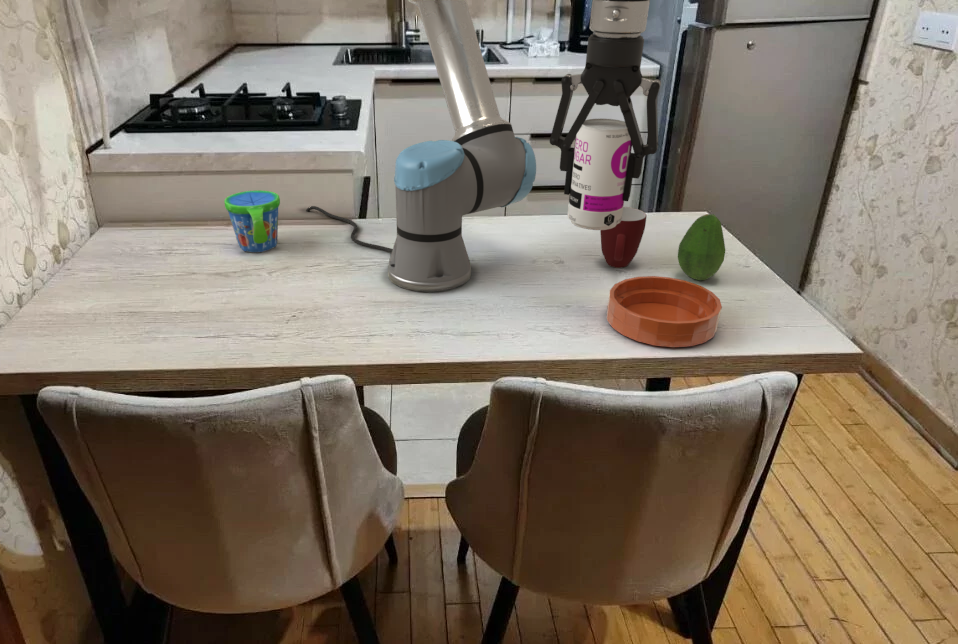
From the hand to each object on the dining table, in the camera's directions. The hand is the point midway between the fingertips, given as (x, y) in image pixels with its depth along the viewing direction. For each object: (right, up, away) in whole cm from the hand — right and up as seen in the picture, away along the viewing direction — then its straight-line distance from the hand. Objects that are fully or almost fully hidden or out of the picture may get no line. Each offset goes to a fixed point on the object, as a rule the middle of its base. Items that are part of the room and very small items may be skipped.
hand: (596, 195), depth 111 cm
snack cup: (-60, -3, +35) cm, 70 cm away
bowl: (+12, -19, +6) cm, 23 cm away
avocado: (+23, -11, +22) cm, 33 cm away
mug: (+10, -8, +26) cm, 29 cm away
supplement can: (0, -4, +2) cm, 5 cm away
